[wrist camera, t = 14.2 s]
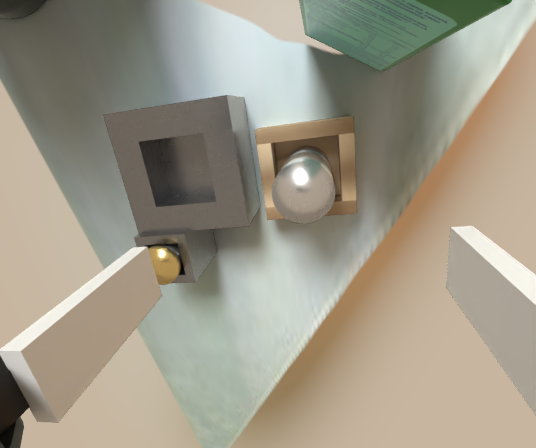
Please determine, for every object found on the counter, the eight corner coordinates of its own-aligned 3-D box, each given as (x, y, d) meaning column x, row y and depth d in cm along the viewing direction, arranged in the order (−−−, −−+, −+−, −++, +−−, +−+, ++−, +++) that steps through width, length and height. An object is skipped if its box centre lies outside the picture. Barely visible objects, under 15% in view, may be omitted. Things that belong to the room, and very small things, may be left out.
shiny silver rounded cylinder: (283, 148, 35) (267, 165, 24) (328, 142, 34) (333, 158, 23) (288, 190, 36) (275, 225, 25) (330, 186, 35) (336, 221, 24)
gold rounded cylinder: (164, 226, 39) (134, 249, 33) (196, 224, 38) (172, 247, 32) (172, 257, 40) (145, 285, 34) (203, 255, 39) (181, 284, 33)
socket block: (140, 113, 37) (96, 115, 29) (244, 97, 34) (223, 94, 27) (177, 253, 43) (148, 283, 36) (266, 248, 41) (255, 280, 33)
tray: (261, 127, 35) (254, 130, 32) (349, 115, 33) (353, 116, 30) (272, 209, 39) (267, 219, 35) (353, 202, 37) (357, 213, 33)
